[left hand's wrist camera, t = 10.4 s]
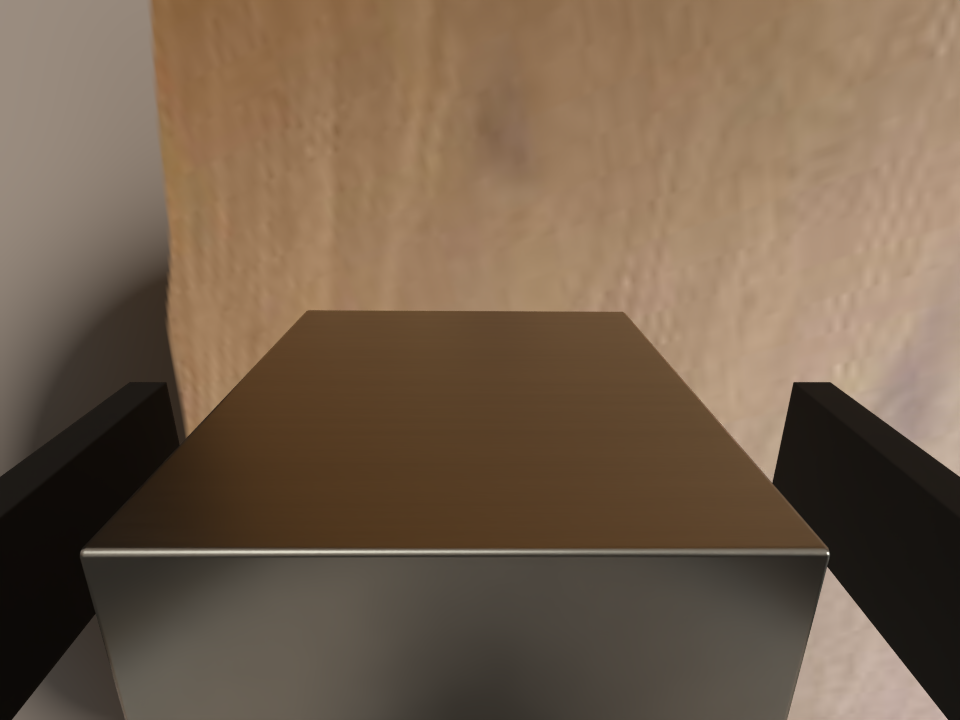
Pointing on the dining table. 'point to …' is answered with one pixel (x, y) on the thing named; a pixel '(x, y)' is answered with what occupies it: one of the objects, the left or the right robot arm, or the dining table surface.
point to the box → (457, 537)
